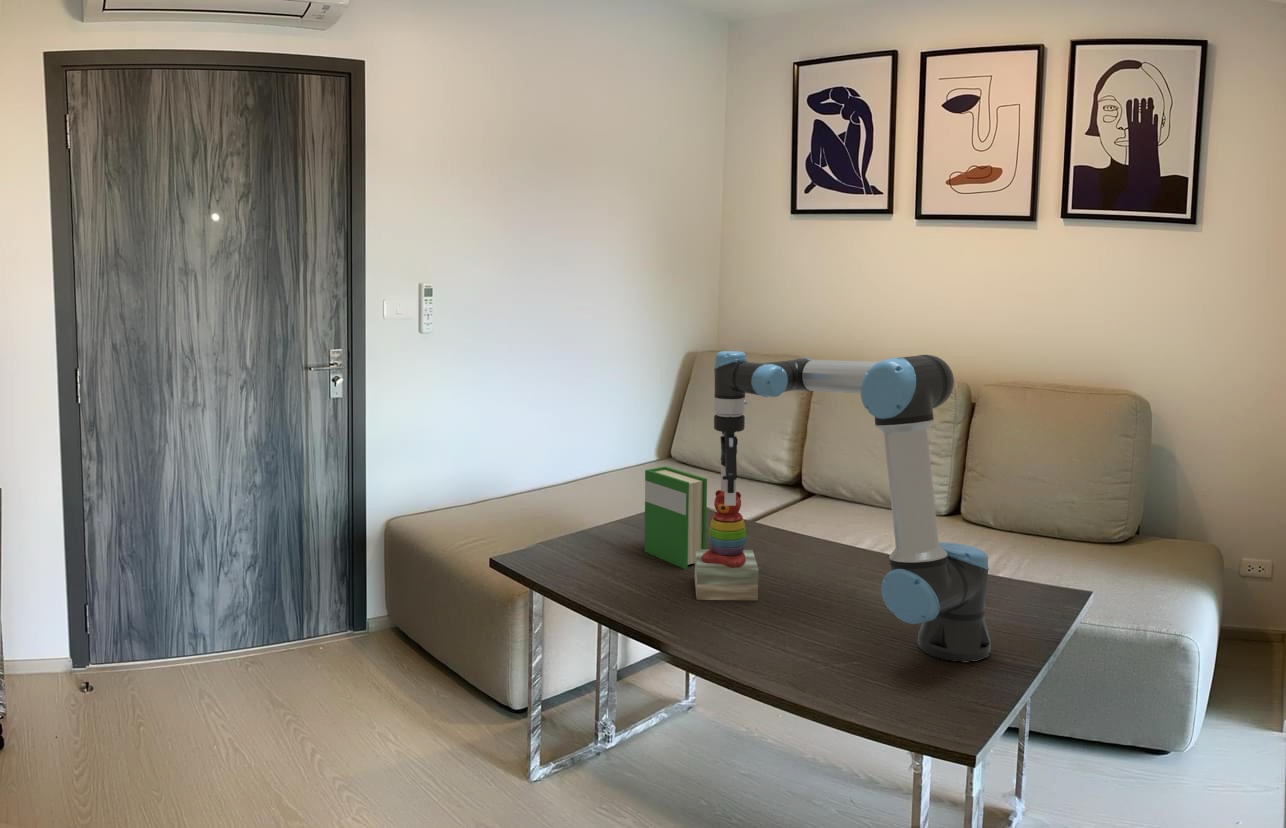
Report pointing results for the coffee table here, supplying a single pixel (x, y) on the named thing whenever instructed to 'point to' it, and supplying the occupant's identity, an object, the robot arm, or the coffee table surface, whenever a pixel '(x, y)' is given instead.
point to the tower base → (726, 592)
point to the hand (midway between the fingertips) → (728, 498)
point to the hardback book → (675, 515)
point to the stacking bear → (726, 534)
